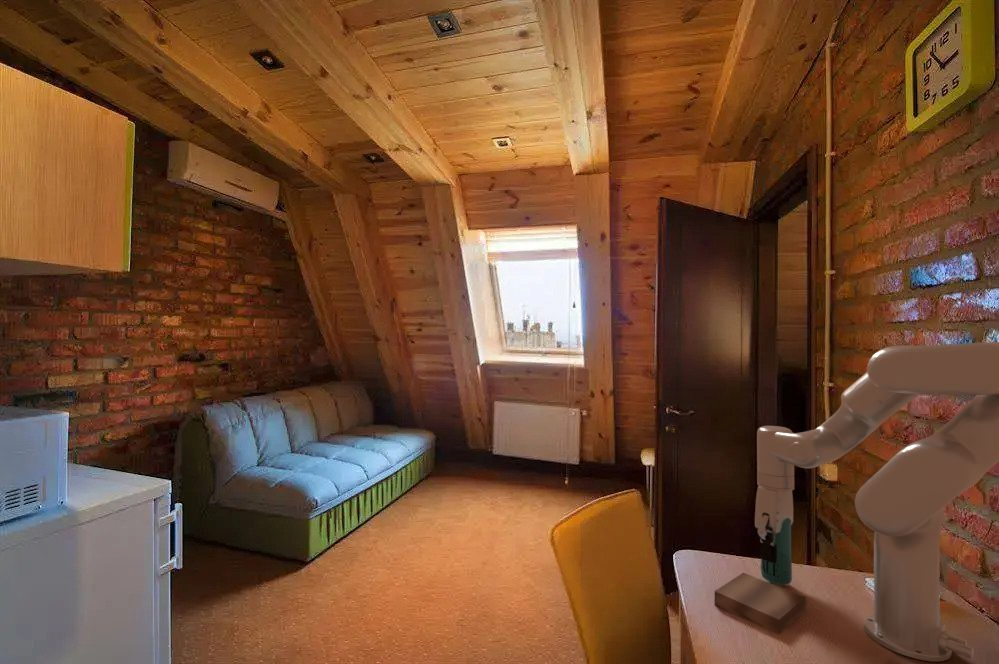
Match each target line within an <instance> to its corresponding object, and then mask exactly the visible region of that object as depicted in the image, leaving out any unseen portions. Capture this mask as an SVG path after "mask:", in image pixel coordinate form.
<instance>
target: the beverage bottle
mask: <svg viewBox="0 0 999 664" xmlns="http://www.w3.org/2000/svg"><path fill="white" fill-rule="evenodd" d="M767 529H768V530H771V531H772V530H773V528H771V527H768V528H767ZM767 535H769V536H770V538H771V537H772V534H771V533H768V532H767ZM775 545H776V546H777V563H772V562H769V561H766V560H763V559H762V558H761V554H760V573H761V576H762V578H763V580H765V581H766V582H769V583H771V584H775V585H782V586H783V585H789V584H791V582H792V578H793V564H792V563H793V560H792V525H791V520H790V518H786V519H785V520H784V522H783V523H782V528H781V532H779V533H777V535H776V541H775ZM760 553H761V548H760Z"/></svg>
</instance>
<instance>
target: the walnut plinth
mask: <svg viewBox="0 0 999 664" xmlns="http://www.w3.org/2000/svg"><path fill="white" fill-rule="evenodd" d="M714 606H716V607H718V608H720V609H722V610H724V611H726V612H729V613H731V614H734V615H735V616H737V617H740V618H742V619H744V620H746V621H748V622H750V623H752V624H754V625H757V626H759V627H761V628H763V629H765V630H767V631H770V632H771V633H773V634H776V635H778V636H781V634H782V633H784V631H785V630H787V629H788V628H789V627H790V626H791V625H792V624H793V623H794V622H795V621H797V620H798V619H799V618H800V617H801V616H802V615H803V614H805V613H806V611H807V597H806V596H804V595H801V594H799V593H797V592H794V591H791V590H790V589H786V588H784V587H782V586H780V585H777V584H775V583H772V582H770V581H767V580H765V579H761V578H758V577H756V576H753V575H751V574H747V573H745V572H742V573H740V574H739V575H737V576H736V577H734V578H732V579H731V580H730V581H728V582H727V583H725V584H723V585H722V586H720V587H719V588H717V589H716V590H714Z"/></svg>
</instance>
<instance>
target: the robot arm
mask: <svg viewBox="0 0 999 664" xmlns="http://www.w3.org/2000/svg"><path fill="white" fill-rule="evenodd" d="M920 395H943V396H944V395H947V396H948V395H951V396H953V395H954V396H974V397H973V399H972V400H970V402H968V403H967V404H966V405H964V406H963V407H962V408H961V409H960V410H958V412H957V413H956V414H955V415H954V416H953V417H952V418H951V419H950V420H949V421H948V422H947V423H945V424H944V425H943V426H941V428H939V430H937V431H936V432H935V433H932V435H929V436H927V437H925V438H922V439H919V440H916V441H914V442H911V443H910V444H907V445H906V446H904V447H903V448H902V449H901V450H900V451H898V452H897V453H896V454H895V455H894V456H892V457H891V458H890V460H888V461H887V462H886V463H885V464H884V465H883V466H882V467H881V468H880V469H879V470H878V471H876V472H875V474H873V475H872V476H871V477H870V478H869V479H868V480H867V481H866V482H865V483H863V485H862V486H861V487H860V488H859V489H858V491H857V492H856V495H855V498H854V506H855V507H854V508H855V511H856V513H857V516H858V517H859V519H860V521H861V522H862V523H863V524H864V525H865V526H866V527H867V528H868V529H870V530H872V531H873V532H874V535H873V583H874V584H873V587H874V588H873V593H874V594H873V596H874V597H873V601H874V603H873V605H874V613H873V614H874V615H870V616H867V617H866V618H865V620H864V630H865V631H866V633H867V634H868V636H870V638H871V639H873V640H874V641H875V642H877V643H878V644H880V645H881V646H883V647H885V648H887V649H889V650H890V651H893V652H895V653H896V654H897V653H898V654H899V655H902V656H905V657H909V658H912V659H916V660H921V661H926V662H935V663H937V662H944V661H947V660H949V659H950V658H951V657H952V654H953V653H952V652H954V653H957V654H958V655H960V656H963V657H965V658H967V659H969V660H973V659H974V647H972V646H970V645H967V644H968V643H967V639H964V638H961V637H958V636H955V635H952V634H950V633H949V632H948V631H946V623H944V622H942V621H941V618H940V617H941V616H940V615H941V608H940V607H941V606H940V604H941V603H940V602H941V601H940V597H941V596H940V565H941V564H940V563H941V562H940V558H941V557H940V551H941V550H940V547H941V546H940V545H941V544H940V543H941V532H942V525H943V517H944V515H943V514H944V508H945V506H946V505H948V504H949V503H951V502H952V501H953V500H954V499H955V498H957V497H958V496H959V495H961V494H962V493H964V492H965V491H967V490H969V489H971V488H972V487H973V486H975V485H976V484H978V482H980V480H981V479H982V478H983V477H984V476H985V475H986V473H988V472H989V470H991V469H992V468H993V467H994V466H995V465H997V464H998V463H999V341H988V342H987V341H986V342H984V341H983V342H971V343H970V342H967V343H951V344H931V345H905V344H904V345H892V346H887V347H884V348H882V349H880V350H878V351H876V352H875V353H874V354H873V355H872V356H871V358H869V359H868V363H867V366H866V372H865V373H864V374H863V375H862V376H860V377H859V378H858V379H857V380H856V381H855V382H853V383H852V384H851V385H850V386H848V387H847V388H846V389H845V390H844V391H843V392H842V393H841V396H840V401H841V404H840V406H839V408H838V409H837V410H836V411H835V412H834V413H833V414H832V415H831V416H830V417H829V418H828V419H826V420H825V421H824V422H823V423H822V424H820V425H819V426H818V427H816V428H815V429H810V430H806V431H802V432H796V433H795V432H793V431H792V430H791V429H790V428H787V427H785V426H779V425H776V426H775V425H764V426H763V425H762V426H761V427H758V429H757V431H756V463H757V464H756V469H757V470H756V481H757V483H756V484H757V490H756V497H755V507H754V508H755V512H754V526H755V528H756V529H757V535H758V536H759V539H760V540H759V541H760V544H761V545H760V549H761V550H760V551H761V552H760V555H761V558H762V559H763V560H766V561H769V562H772V563H777V546H776V545H775V541H776V535H777V533H779V532H781V528H782V523H783V522H784V520H785V519H786V518H790V520H791V526H793V523H794V498H793V491H794V490H795V466H796V467H798V468H801V469H802V468H803V469H814V468H817V467H820V466H823V465H826V464H828V463H832V462H835V461H836V460H839V459H840V458H842V457H843V456H845V455H846V454H848V453H849V452H850V451H851V450H853V449H854V448H855V447H857V446H858V445H859V444H860V443H862V442H863V441H864V440H865V439H867V438H868V437H869V436H871V434H872V433H874V431H876V430H877V429H878V428H879V427H880V426H881V425H882V424H883V423H884V422H886V421H888V420H889V418H891V417H892V416H893V415H895V414H896V413H897V412H899V411H900V410H901V409H903V408H904V407H905V406H907V405H908V404H910V402H912V401H913V400H915V399H916V398H917V397H918V396H920ZM768 527H771V528H773V530H772V531H771V530H768V529H767V528H768ZM767 532H768V533H771V534H772V537H771V538H770V536H769V535H767ZM761 558H760V559H761Z"/></svg>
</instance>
